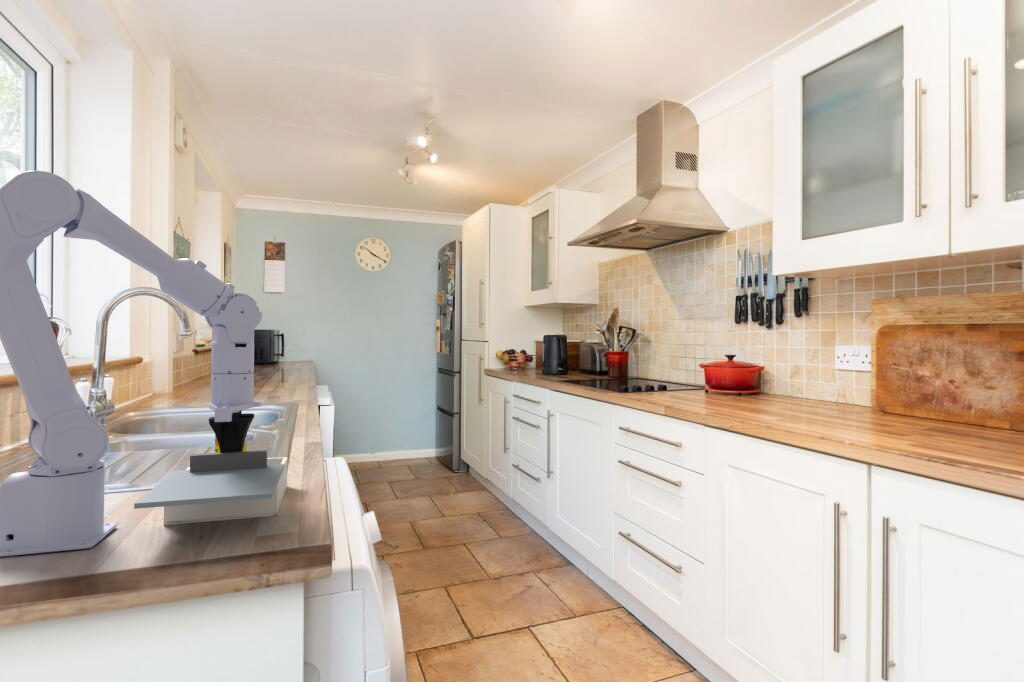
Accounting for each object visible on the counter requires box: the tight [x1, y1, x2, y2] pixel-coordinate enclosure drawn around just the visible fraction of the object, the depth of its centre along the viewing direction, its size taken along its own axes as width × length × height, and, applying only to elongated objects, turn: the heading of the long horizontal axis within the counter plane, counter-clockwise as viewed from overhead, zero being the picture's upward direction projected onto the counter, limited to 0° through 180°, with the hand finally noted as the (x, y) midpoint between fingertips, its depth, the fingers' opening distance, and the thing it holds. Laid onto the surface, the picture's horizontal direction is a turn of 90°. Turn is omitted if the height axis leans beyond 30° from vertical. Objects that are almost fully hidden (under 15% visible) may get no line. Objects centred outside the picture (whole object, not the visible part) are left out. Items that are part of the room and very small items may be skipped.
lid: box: [133, 450, 284, 510], centre depth 71 cm, size 15×17×3 cm
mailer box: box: [163, 456, 288, 526], centre depth 81 cm, size 14×16×5 cm
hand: (231, 463), depth 80 cm, fingers closed
